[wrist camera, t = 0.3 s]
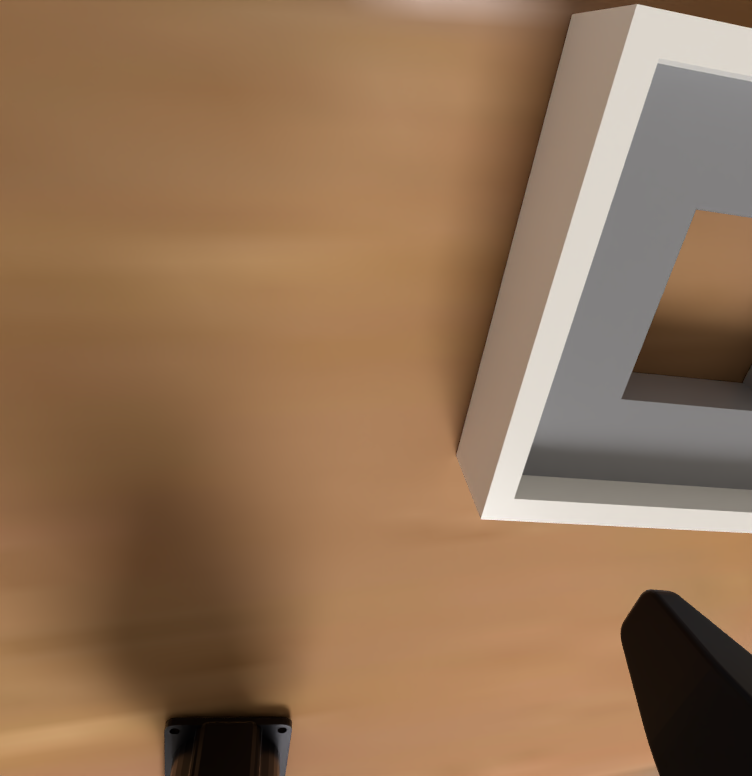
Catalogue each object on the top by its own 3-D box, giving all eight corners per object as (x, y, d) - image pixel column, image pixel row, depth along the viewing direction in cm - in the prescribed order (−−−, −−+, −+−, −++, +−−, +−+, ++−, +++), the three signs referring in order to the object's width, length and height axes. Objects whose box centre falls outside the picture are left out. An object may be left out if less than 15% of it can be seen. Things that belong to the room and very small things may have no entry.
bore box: (786, 478, 28) (855, 538, 25) (456, 455, 25) (480, 519, 22) (1004, 102, 21) (1147, 112, 17) (572, 14, 18) (637, 3, 15)
